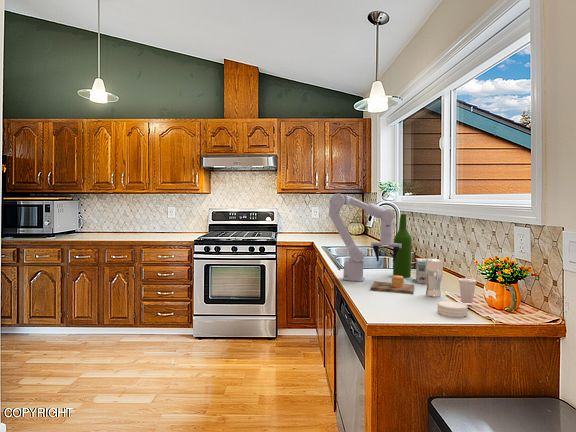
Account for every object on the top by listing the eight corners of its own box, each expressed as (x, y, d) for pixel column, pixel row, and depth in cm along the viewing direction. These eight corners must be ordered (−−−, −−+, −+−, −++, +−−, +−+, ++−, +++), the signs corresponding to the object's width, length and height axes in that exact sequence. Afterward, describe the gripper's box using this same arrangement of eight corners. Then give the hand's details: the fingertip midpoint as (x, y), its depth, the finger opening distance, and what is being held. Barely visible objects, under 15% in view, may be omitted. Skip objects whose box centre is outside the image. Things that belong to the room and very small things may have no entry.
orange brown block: (391, 287, 177) (391, 276, 177) (392, 284, 182) (392, 275, 182) (402, 287, 176) (402, 277, 176) (403, 285, 180) (403, 275, 180)
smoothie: (454, 302, 157) (455, 267, 156) (470, 302, 157) (471, 267, 157) (463, 306, 151) (464, 270, 150) (479, 306, 151) (480, 270, 150)
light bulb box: (432, 284, 191) (433, 261, 191) (417, 283, 192) (418, 261, 192) (429, 279, 202) (429, 258, 201) (415, 278, 203) (416, 257, 202)
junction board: (370, 290, 176) (370, 280, 176) (374, 283, 189) (374, 275, 189) (413, 293, 170) (413, 284, 170) (414, 287, 183) (414, 278, 183)
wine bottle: (396, 273, 215) (398, 213, 214) (413, 276, 210) (414, 214, 209) (390, 276, 208) (392, 214, 207) (407, 278, 203) (409, 214, 201)
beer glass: (441, 294, 170) (442, 259, 170) (442, 298, 164) (443, 261, 163) (424, 292, 173) (425, 258, 172) (424, 296, 166) (425, 260, 165)
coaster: (473, 315, 140) (473, 305, 140) (456, 319, 135) (456, 309, 135) (448, 308, 149) (448, 299, 149) (431, 312, 143) (431, 302, 143)
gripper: (370, 234, 195) (369, 261, 195) (401, 235, 190) (400, 263, 191) (372, 233, 201) (371, 259, 202) (402, 234, 197) (401, 261, 197)
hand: (385, 261), depth 197 cm, fingers open, 7 cm apart
